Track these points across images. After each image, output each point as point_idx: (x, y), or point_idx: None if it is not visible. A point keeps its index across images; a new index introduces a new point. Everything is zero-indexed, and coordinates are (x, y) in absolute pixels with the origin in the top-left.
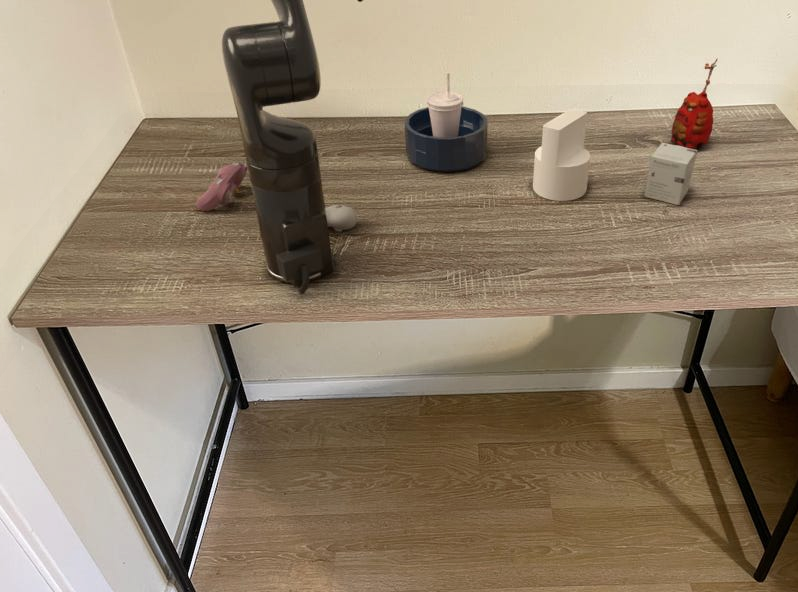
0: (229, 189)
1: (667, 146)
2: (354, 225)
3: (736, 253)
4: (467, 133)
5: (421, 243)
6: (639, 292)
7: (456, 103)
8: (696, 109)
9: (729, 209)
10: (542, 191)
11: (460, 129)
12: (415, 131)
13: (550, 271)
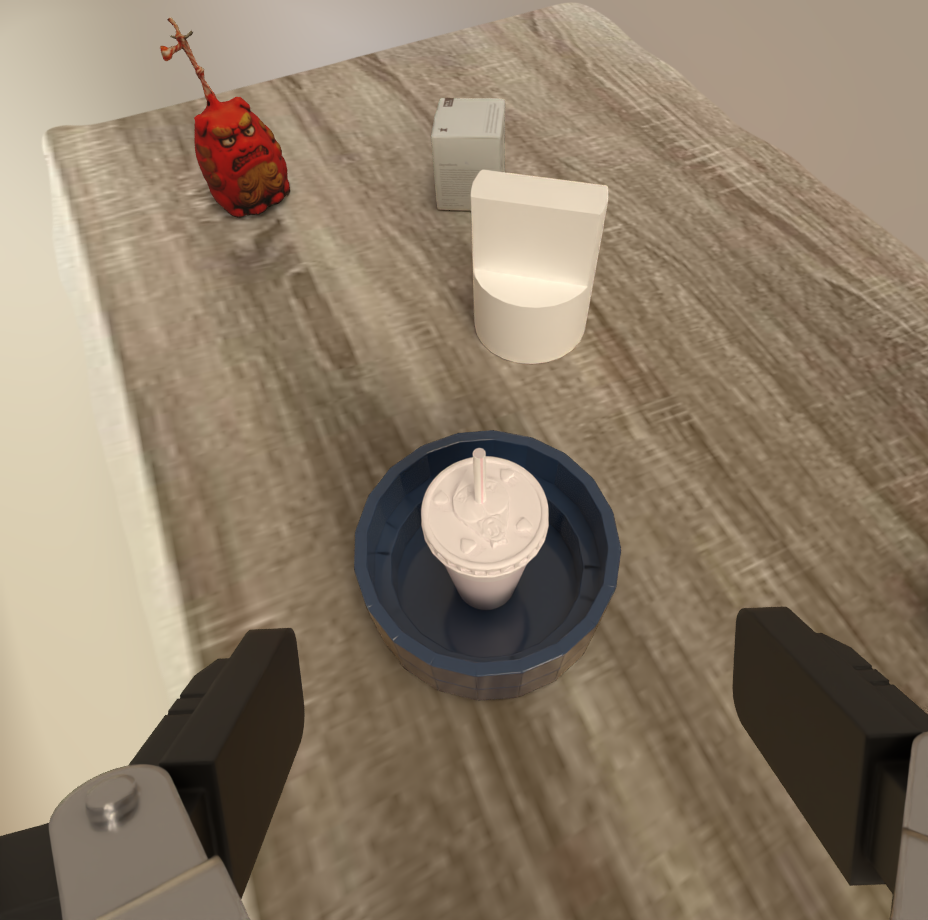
0: None
1: (447, 127)
2: None
3: (605, 110)
4: (401, 539)
5: (900, 465)
6: (778, 170)
7: (507, 462)
8: (253, 121)
9: None
10: (583, 328)
11: (393, 561)
12: (600, 594)
13: (814, 262)
